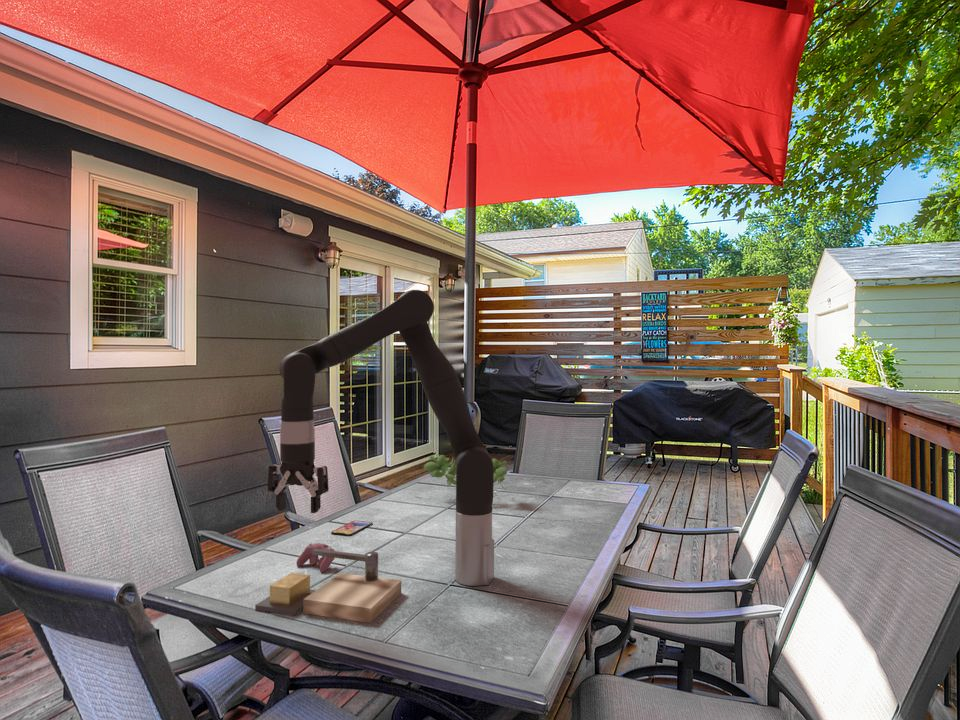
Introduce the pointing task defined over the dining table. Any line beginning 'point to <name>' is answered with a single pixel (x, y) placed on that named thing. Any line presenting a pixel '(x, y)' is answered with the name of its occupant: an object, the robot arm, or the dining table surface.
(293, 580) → the brown rectangular block
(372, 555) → the clamp lever
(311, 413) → the robot arm
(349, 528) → the smartphone
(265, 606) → the mat
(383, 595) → the base plate
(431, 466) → the plant cuttings
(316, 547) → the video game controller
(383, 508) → the dining table surface
